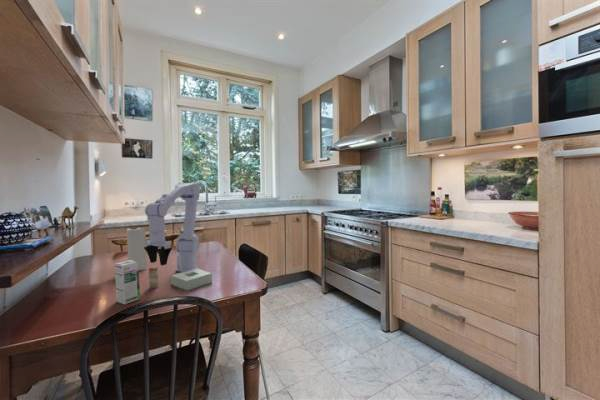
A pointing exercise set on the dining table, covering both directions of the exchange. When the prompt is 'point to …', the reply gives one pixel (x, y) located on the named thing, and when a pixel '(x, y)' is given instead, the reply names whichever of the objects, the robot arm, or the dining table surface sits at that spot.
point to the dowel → (153, 277)
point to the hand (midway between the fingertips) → (158, 263)
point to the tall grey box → (137, 246)
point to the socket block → (191, 279)
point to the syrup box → (127, 281)
